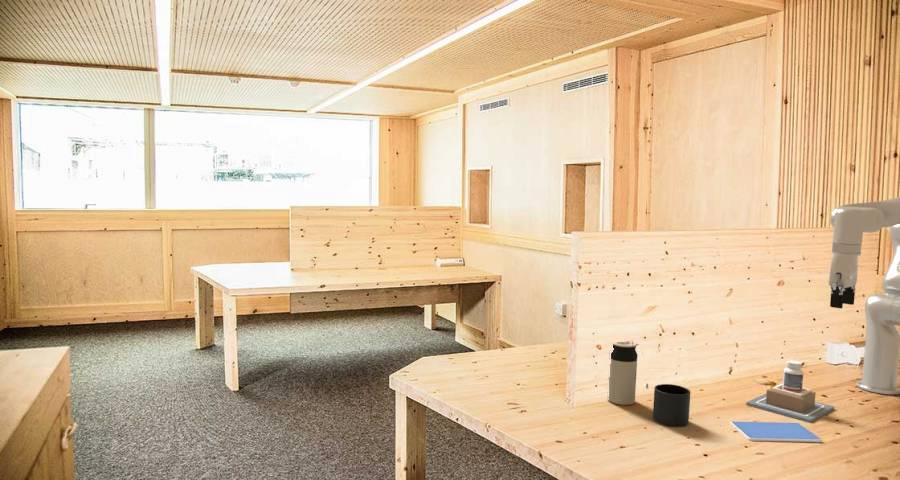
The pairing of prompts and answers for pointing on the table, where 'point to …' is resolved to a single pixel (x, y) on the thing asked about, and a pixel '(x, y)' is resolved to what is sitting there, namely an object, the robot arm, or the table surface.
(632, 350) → the travel mug
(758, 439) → the blue rectangular panel
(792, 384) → the pill bottle
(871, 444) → the table surface
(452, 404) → the table surface
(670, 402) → the mug
